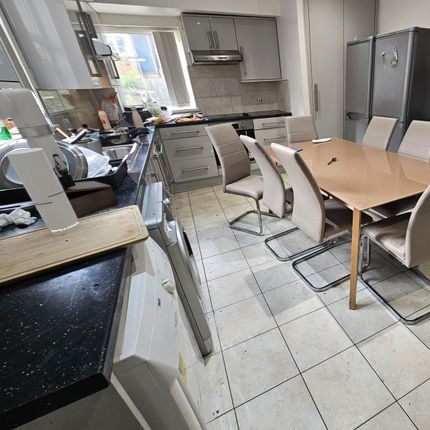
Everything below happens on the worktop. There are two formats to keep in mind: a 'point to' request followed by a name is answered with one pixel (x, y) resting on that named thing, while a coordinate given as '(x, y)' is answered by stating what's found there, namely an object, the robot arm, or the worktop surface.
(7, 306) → the worktop surface
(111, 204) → the chest
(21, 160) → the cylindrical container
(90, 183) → the lid
